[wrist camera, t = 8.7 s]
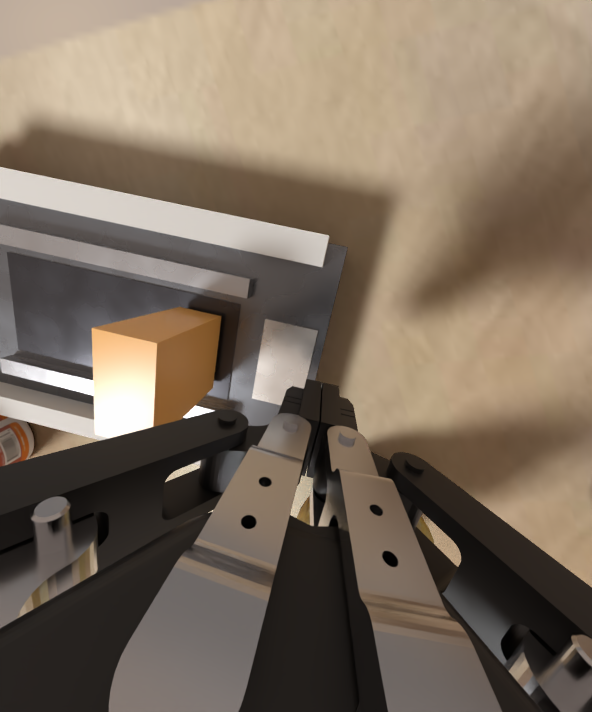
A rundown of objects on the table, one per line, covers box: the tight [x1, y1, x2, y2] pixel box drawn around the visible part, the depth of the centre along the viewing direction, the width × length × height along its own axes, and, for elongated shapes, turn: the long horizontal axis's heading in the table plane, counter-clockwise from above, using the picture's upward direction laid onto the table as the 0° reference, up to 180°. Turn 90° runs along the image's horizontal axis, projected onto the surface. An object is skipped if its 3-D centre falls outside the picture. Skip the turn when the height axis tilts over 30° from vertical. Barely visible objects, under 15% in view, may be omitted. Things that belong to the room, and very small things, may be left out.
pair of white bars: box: [0, 167, 329, 465], centre depth 16 cm, size 22×14×1 cm, turn 78°
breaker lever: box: [92, 307, 221, 438], centre depth 13 cm, size 2×4×6 cm, turn 168°
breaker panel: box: [0, 198, 348, 426], centre depth 18 cm, size 24×14×4 cm, turn 78°
